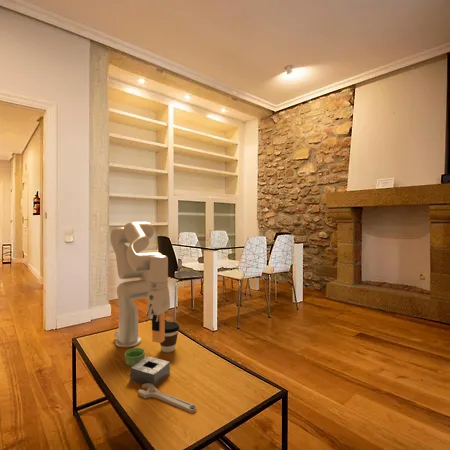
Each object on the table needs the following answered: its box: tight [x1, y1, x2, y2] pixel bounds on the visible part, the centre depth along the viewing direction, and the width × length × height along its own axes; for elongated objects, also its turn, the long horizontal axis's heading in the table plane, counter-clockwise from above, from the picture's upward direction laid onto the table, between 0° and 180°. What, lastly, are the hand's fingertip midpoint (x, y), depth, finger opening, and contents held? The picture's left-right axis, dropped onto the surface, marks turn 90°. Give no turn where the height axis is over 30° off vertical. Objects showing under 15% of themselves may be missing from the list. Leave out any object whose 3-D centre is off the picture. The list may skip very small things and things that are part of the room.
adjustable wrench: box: [138, 383, 197, 414], centre depth 103 cm, size 25×6×2 cm, turn 57°
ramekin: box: [123, 347, 146, 367], centre depth 129 cm, size 9×9×4 cm
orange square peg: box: [151, 312, 166, 344], centre depth 119 cm, size 3×4×12 cm
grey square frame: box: [129, 355, 171, 387], centre depth 117 cm, size 12×11×5 cm
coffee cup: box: [159, 321, 180, 353], centre depth 141 cm, size 11×11×12 cm
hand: (158, 328), depth 119 cm, fingers closed on orange square peg, 3 cm apart
